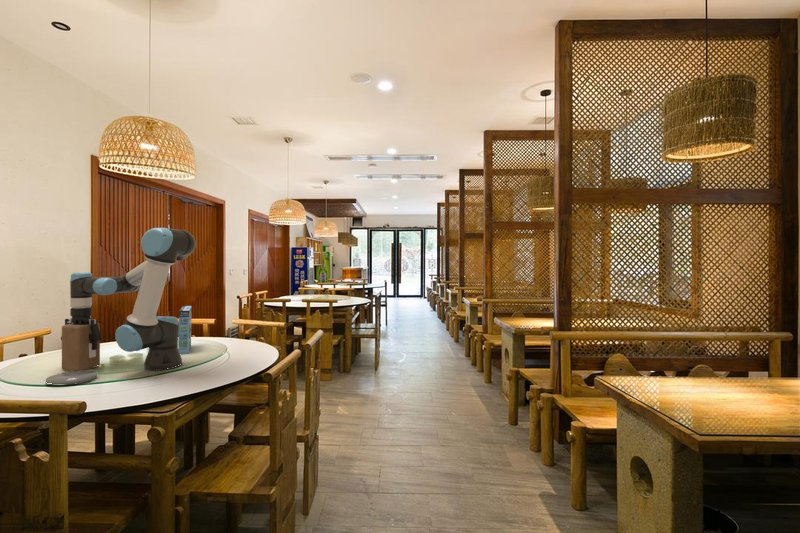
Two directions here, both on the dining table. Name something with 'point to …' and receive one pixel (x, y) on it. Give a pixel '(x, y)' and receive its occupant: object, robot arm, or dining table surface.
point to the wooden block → (78, 348)
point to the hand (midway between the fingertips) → (81, 356)
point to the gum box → (184, 329)
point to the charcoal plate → (72, 377)
